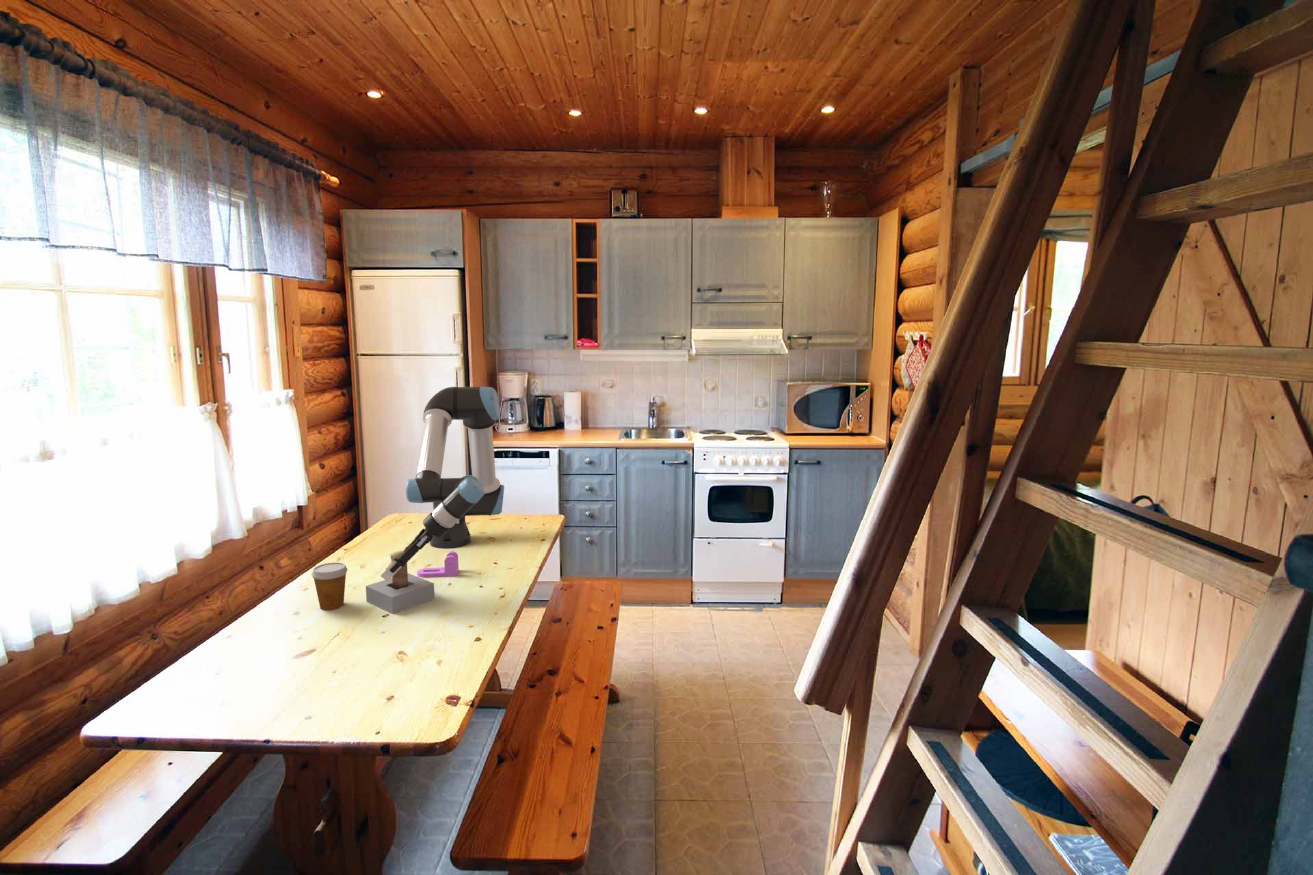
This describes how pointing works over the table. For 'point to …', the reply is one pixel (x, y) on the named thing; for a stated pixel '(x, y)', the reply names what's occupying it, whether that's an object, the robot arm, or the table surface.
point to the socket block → (400, 594)
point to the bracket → (442, 568)
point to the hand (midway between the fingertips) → (386, 574)
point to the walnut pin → (399, 573)
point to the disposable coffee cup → (330, 584)
